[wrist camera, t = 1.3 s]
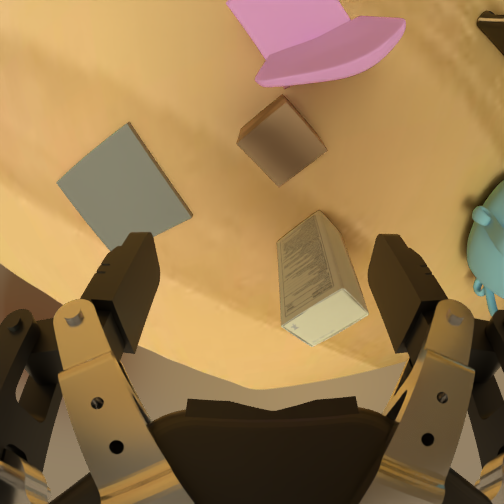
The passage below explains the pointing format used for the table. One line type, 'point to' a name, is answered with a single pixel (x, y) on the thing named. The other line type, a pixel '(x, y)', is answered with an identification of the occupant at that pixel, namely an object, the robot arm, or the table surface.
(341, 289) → the skincare box
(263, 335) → the table surface
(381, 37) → the toy chair
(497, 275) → the decorative pot
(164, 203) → the coaster
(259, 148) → the walnut block
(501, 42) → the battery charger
